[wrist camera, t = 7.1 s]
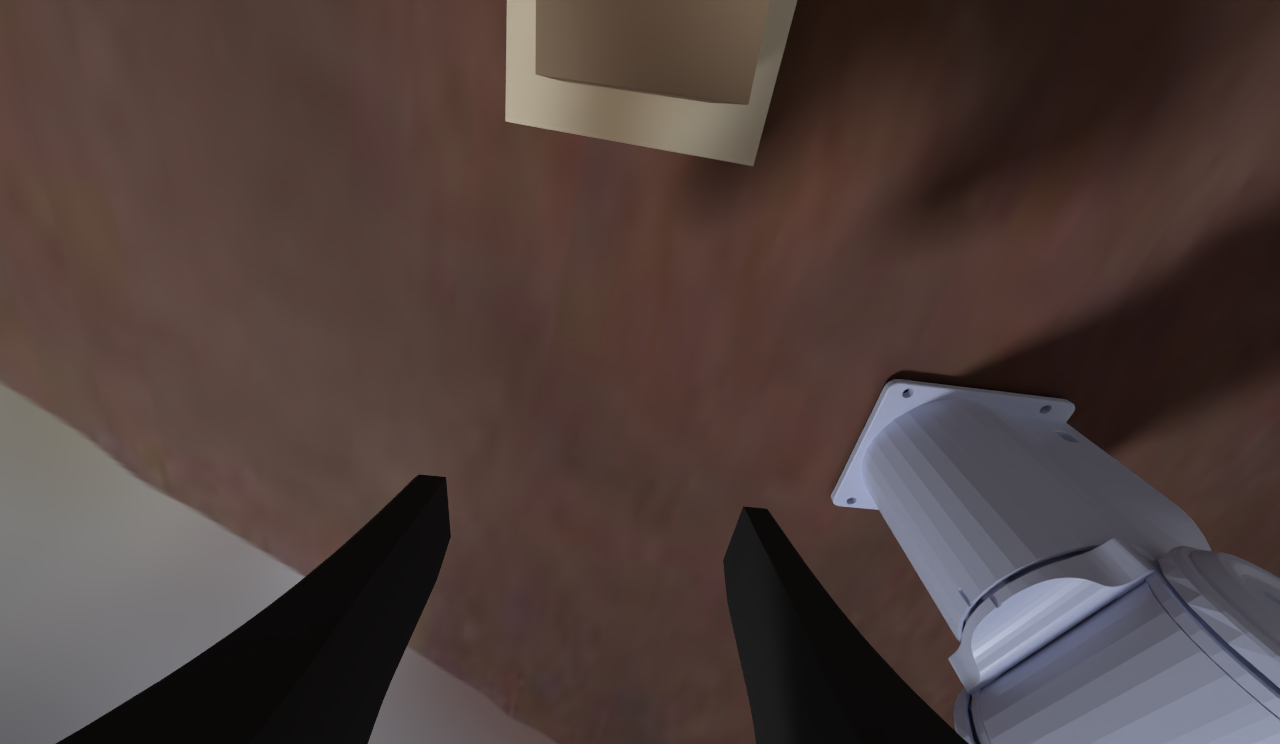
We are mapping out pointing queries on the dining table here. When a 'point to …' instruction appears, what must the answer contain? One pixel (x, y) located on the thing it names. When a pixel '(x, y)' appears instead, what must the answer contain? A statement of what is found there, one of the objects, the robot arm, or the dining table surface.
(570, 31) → the walnut block
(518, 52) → the maple base block
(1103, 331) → the dining table surface
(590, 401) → the dining table surface
